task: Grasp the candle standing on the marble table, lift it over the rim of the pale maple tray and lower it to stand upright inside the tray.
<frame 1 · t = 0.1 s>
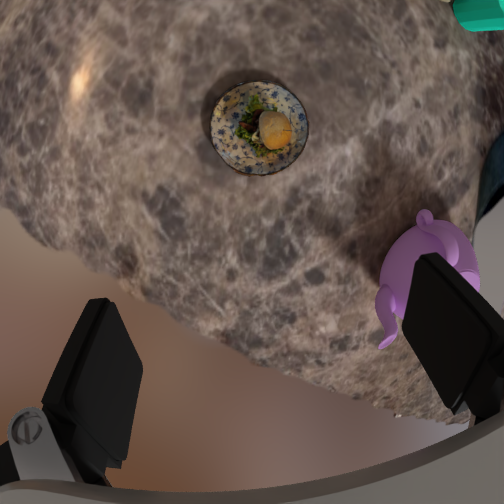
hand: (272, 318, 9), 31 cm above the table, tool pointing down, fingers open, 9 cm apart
candle: (465, 14, 27), on the table
plate of food: (258, 127, 36), on the table
teapot: (405, 265, 47), on the table
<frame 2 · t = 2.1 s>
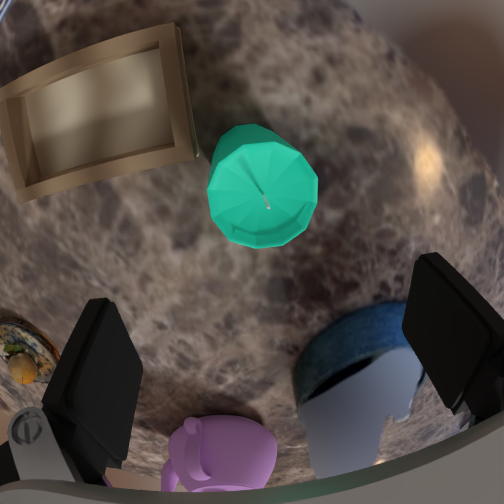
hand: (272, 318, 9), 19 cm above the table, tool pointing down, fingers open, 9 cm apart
candle: (248, 157, 26), on the table
tray: (97, 112, 22), on the table
plate of food: (28, 347, 34), on the table
teapot: (209, 434, 46), on the table
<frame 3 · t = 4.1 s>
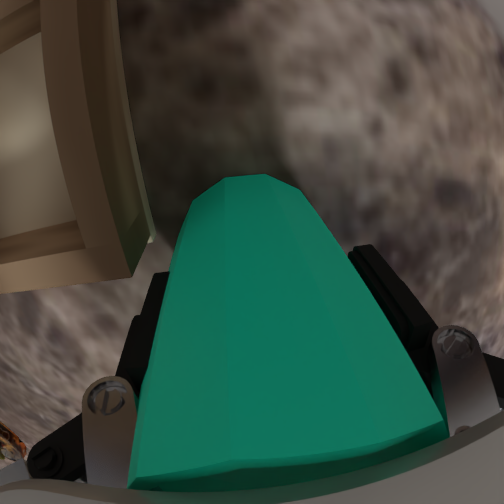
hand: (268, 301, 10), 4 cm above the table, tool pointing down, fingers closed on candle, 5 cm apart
candle: (250, 240, 13), on the table, touching gripper
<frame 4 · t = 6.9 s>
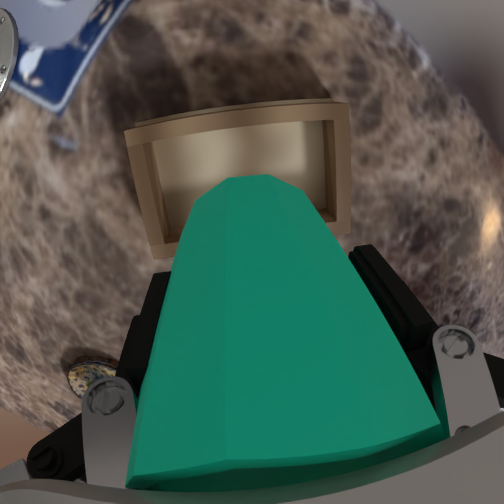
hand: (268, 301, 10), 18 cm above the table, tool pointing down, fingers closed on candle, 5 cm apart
candle: (252, 240, 13), point 14 cm above the table, touching gripper
tray: (242, 169, 26), on the table
plate of food: (109, 381, 38), on the table
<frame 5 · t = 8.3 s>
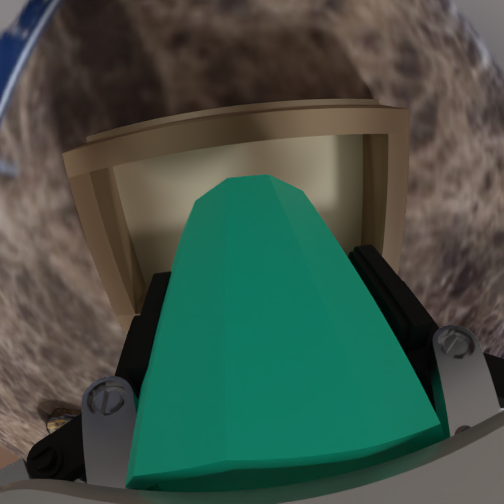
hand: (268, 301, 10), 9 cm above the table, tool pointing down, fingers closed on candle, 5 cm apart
candle: (252, 241, 13), point 5 cm above the table, touching gripper
tray: (244, 202, 18), on the table
plate of food: (93, 432, 30), on the table
when the fingers open (6 cm above the table, at t = 9.4 s): candle stays where it is, resting on tray.
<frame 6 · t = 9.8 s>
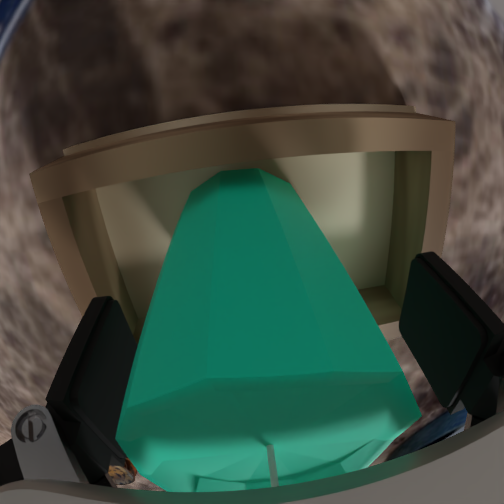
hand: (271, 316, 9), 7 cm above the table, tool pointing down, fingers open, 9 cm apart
candle: (243, 230, 14), point 1 cm above the table, touching tray
tray: (253, 227, 15), on the table
plate of food: (90, 454, 27), on the table
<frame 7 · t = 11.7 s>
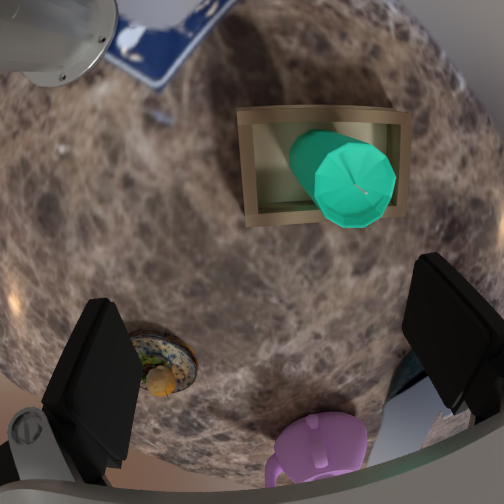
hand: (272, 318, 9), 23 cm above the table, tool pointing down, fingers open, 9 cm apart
candle: (318, 158, 29), point 1 cm above the table, touching tray
tray: (321, 159, 30), on the table
plate of food: (157, 358, 41), on the table
teapot: (306, 431, 52), on the table
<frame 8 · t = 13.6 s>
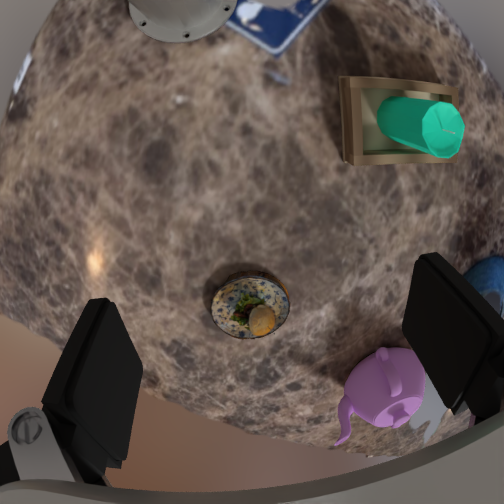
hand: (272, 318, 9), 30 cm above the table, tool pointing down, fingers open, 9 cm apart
candle: (395, 118, 34), point 1 cm above the table, touching tray
tray: (396, 118, 35), on the table
plate of food: (249, 302, 47), on the table
teapot: (368, 372, 58), on the table
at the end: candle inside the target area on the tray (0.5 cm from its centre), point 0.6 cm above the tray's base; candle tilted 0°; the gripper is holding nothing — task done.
